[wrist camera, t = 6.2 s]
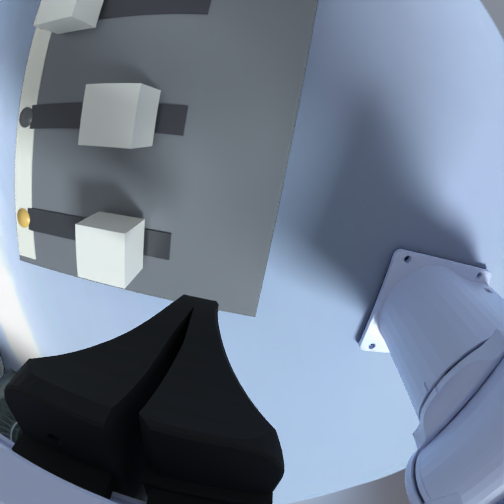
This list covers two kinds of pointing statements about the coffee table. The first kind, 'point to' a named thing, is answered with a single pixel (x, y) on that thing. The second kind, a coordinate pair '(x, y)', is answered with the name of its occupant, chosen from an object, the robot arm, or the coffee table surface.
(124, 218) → the switch tab
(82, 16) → the switch tab
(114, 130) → the white cube
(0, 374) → the wrench
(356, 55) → the coffee table surface
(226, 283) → the switch board
